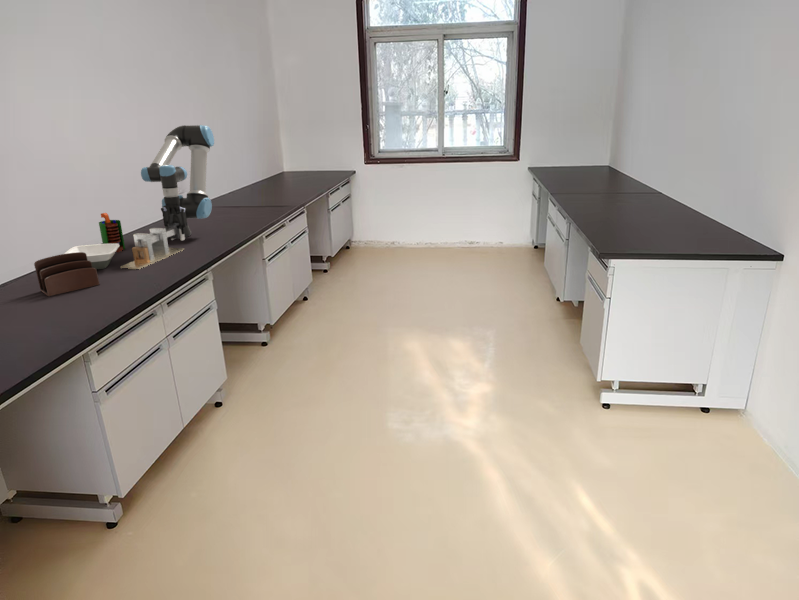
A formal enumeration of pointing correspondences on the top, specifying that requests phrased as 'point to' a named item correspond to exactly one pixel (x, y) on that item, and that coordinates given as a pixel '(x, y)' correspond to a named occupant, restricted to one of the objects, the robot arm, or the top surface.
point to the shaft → (171, 232)
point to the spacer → (145, 252)
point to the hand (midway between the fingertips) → (178, 239)
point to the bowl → (97, 253)
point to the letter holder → (65, 273)
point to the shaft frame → (156, 253)
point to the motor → (111, 232)
